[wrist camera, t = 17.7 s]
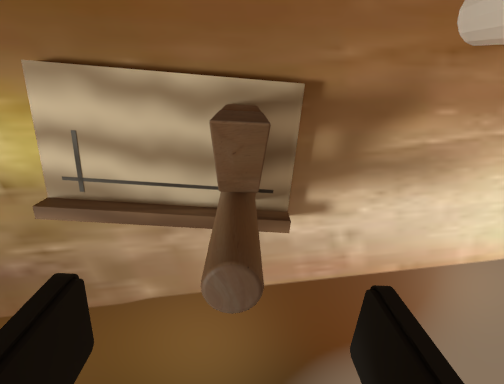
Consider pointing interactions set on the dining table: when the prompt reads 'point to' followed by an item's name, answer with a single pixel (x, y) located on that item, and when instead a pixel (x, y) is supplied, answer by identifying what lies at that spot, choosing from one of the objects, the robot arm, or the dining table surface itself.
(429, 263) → the dining table surface
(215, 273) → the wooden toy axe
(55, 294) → the robot arm
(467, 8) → the shot glass
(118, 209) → the marking board
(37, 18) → the dining table surface
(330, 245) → the dining table surface
